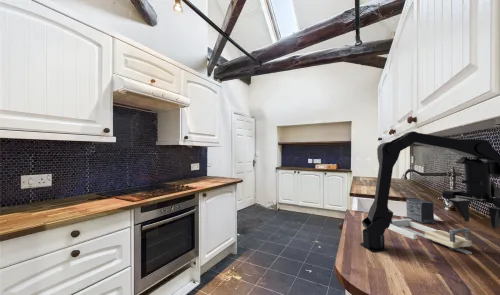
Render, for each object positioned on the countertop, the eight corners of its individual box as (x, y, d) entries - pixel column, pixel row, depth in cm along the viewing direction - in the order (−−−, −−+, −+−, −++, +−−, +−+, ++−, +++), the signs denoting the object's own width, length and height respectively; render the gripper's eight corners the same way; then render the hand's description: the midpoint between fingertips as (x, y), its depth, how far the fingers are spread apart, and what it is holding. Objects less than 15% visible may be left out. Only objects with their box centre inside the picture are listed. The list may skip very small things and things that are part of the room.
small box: (435, 224, 101) (434, 202, 101) (422, 224, 101) (421, 202, 101) (418, 217, 111) (417, 198, 112) (406, 217, 111) (405, 198, 112)
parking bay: (452, 256, 70) (452, 247, 70) (384, 227, 98) (384, 220, 98) (485, 251, 72) (485, 243, 72) (409, 224, 100) (409, 218, 100)
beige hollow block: (453, 251, 72) (452, 230, 72) (424, 240, 82) (423, 221, 82) (471, 249, 73) (470, 229, 74) (441, 238, 83) (440, 220, 83)
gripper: (538, 179, 60) (543, 233, 60) (463, 174, 79) (466, 215, 78) (509, 181, 59) (513, 236, 58) (439, 175, 77) (441, 217, 76)
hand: (480, 224), depth 68 cm, fingers open, 7 cm apart
